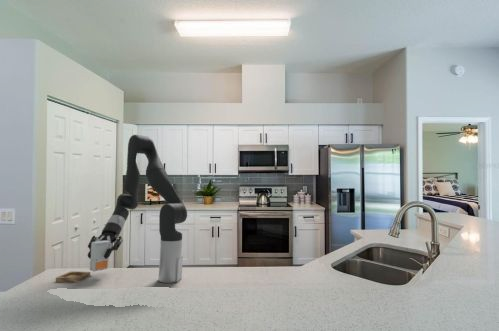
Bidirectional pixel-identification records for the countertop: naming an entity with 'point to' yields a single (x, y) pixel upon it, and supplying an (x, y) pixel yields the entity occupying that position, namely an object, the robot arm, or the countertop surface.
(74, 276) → the tray
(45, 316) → the countertop surface
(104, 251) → the skincare box
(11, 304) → the countertop surface
